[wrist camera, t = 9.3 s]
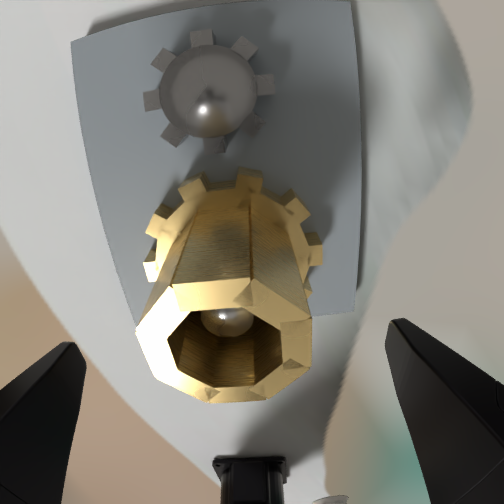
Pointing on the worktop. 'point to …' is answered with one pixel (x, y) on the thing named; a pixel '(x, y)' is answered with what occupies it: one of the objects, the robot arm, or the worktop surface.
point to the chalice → (332, 500)
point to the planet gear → (229, 289)
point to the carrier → (226, 128)
